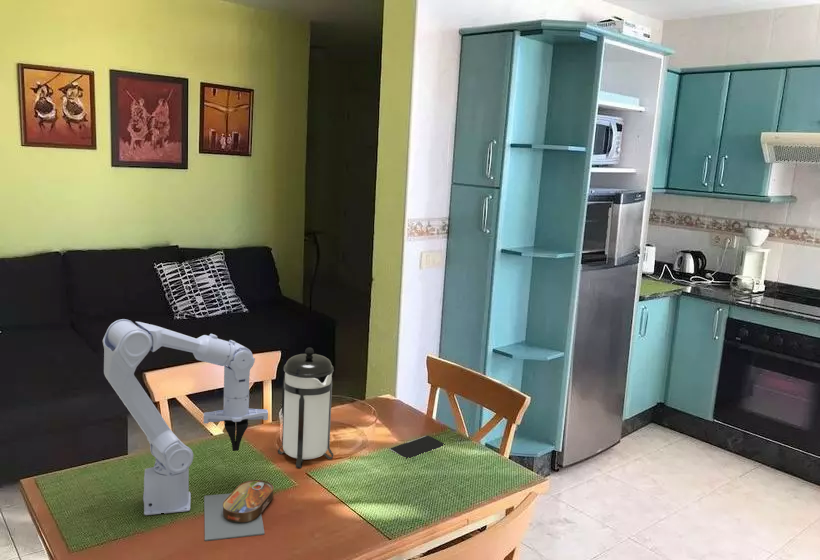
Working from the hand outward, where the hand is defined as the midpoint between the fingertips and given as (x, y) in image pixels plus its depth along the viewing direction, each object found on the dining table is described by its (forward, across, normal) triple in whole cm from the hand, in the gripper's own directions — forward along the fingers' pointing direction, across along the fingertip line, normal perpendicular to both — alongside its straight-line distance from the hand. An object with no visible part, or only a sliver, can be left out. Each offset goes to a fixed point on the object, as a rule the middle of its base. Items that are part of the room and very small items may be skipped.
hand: (235, 449), depth 155 cm
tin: (+8, +6, -13) cm, 16 cm away
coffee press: (+10, +18, +14) cm, 25 cm away
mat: (+9, -1, -13) cm, 16 cm away
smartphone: (+10, +50, +12) cm, 53 cm away
